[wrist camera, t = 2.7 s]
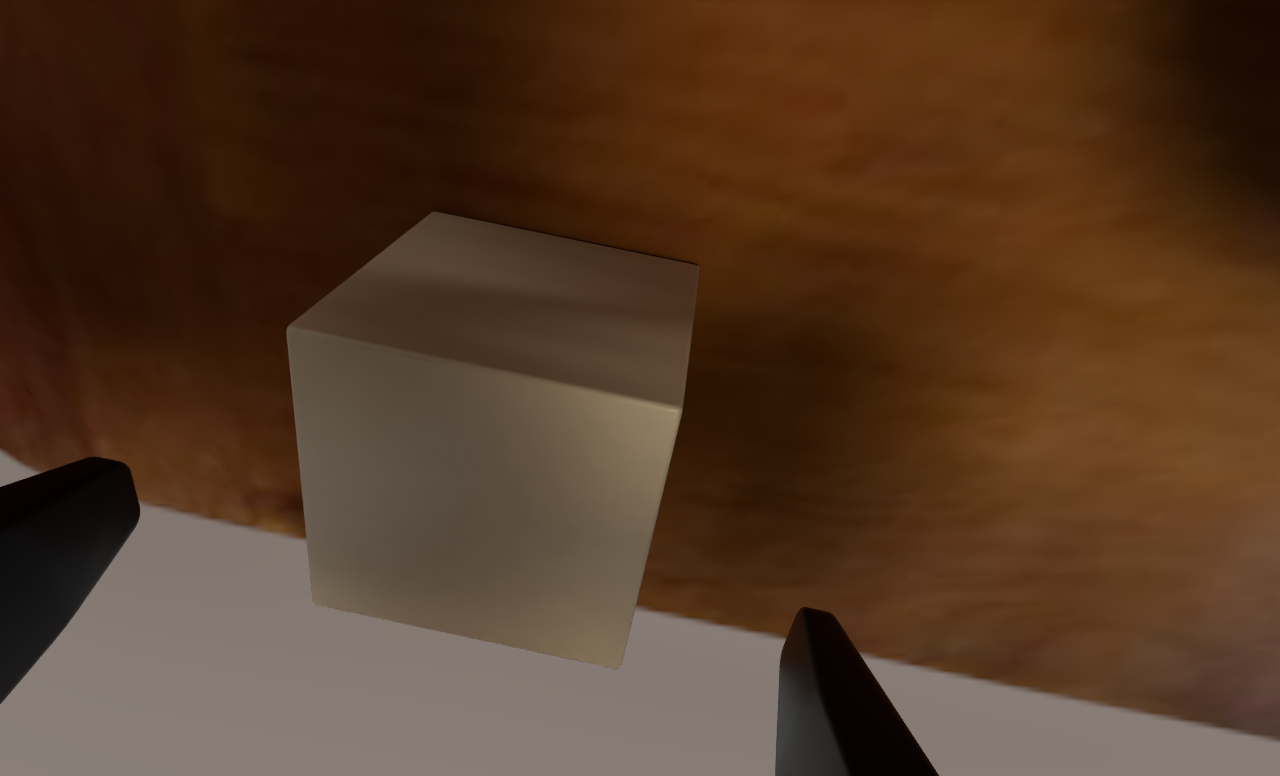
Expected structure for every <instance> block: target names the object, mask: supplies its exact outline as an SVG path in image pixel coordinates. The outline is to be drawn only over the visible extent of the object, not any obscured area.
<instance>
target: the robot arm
mask: <svg viewBox="0 0 1280 776" xmlns="http://www.w3.org/2000/svg"><path fill="white" fill-rule="evenodd" d="M139 517H140V505H139V502H138V498H137V494H136V490H135V486H134V482H133V478H132V474H131V471H130V468H129V467H128V466H127V465H126V464H125V463H123V462H120V461H115V460H110V459H106V458H101V457H88V458H85V459H82V460H79V461H76V462H73V463H70V464H67V465H64V466H61V467H58V468H55V469H52V470H49V471H46V472H43V473H40V474H37V475H35V476H32V477H29V478H26V479H23V480H20V481H17V482H14V483H11V484H8V485H5V486H2V487H0V704H1V703H2V702H3V701H4V700H5V698H6V697H7V696H8V695H9V693H10V692H11V691H12V690H13V689H14V688H15V687H16V685H17V684H18V683H19V682H20V681H21V680H22V678H23V677H24V676H25V675H26V674H27V672H28V671H29V670H30V669H31V668H32V666H33V665H34V664H35V663H36V662H37V661H38V659H39V658H40V657H41V656H42V655H43V653H44V652H45V651H46V650H47V649H48V648H49V647H50V645H51V644H52V643H53V642H54V640H55V639H56V638H57V637H58V636H59V634H60V633H61V632H62V631H63V629H64V628H65V627H66V625H67V624H68V623H69V621H70V620H71V619H72V617H73V616H74V615H75V613H76V612H77V611H78V609H79V608H80V606H81V605H82V603H83V602H84V600H85V599H86V598H87V596H88V595H89V593H90V592H91V591H92V589H93V588H94V586H95V585H96V583H97V582H98V580H99V579H100V578H101V576H102V575H103V573H104V572H105V570H106V569H107V568H108V566H109V565H110V563H111V562H112V560H113V559H114V558H115V556H116V554H117V553H118V552H119V550H120V549H121V548H122V546H123V545H124V543H125V542H126V540H127V539H128V537H129V536H130V535H131V533H132V532H133V530H134V529H135V527H136V525H137V523H138V520H139ZM779 673H780V674H779V695H778V696H779V697H778V718H777V719H778V720H777V741H776V768H775V776H939V775H938V773H937V772H936V770H935V769H934V767H933V766H932V764H931V763H930V761H929V759H928V758H927V756H926V755H925V753H924V752H923V750H922V749H921V747H920V746H919V744H918V743H917V741H916V740H915V738H914V737H913V735H912V734H911V732H910V731H909V729H908V727H907V726H906V724H905V723H904V721H903V720H902V718H901V717H900V715H899V714H898V712H897V710H896V709H895V707H894V706H893V704H892V703H891V701H890V700H889V698H888V697H887V695H886V694H885V692H884V691H883V689H882V688H881V686H880V684H879V683H878V681H877V680H876V679H875V677H874V675H873V674H872V672H871V671H870V669H869V668H868V666H867V665H866V663H865V662H864V660H863V658H862V657H861V655H860V654H859V652H858V651H857V649H856V648H855V646H854V645H853V643H852V642H851V640H850V639H849V637H848V636H847V634H846V632H845V631H844V629H843V628H842V626H841V625H840V623H839V622H838V620H837V619H836V617H835V616H834V615H833V614H831V613H830V612H826V611H822V610H817V609H812V608H808V607H803V608H801V609H800V610H799V611H798V612H797V615H796V617H795V619H794V622H793V624H792V627H791V629H790V631H789V634H788V636H787V639H786V641H785V644H784V646H783V649H782V653H781V659H780V671H779Z"/></svg>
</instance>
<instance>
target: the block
mask: <svg viewBox="0 0 1280 776" xmlns="http://www.w3.org/2000/svg"><path fill="white" fill-rule="evenodd" d="M699 274H700V267H699V266H697V265H694V264H689V263H684V262H679V261H674V260H669V259H664V258H659V257H655V256H650V255H645V254H640V253H635V252H630V251H625V250H620V249H616V248H611V247H606V246H601V245H596V244H591V243H586V242H581V241H577V240H572V239H567V238H562V237H557V236H552V235H547V234H542V233H538V232H533V231H528V230H523V229H518V228H513V227H508V226H503V225H499V224H494V223H489V222H484V221H479V220H474V219H469V218H464V217H460V216H455V215H450V214H445V213H440V212H431V213H430V214H429V215H428V216H426V217H425V218H424V219H423V220H421V221H420V222H419V223H417V224H416V225H415V226H414V227H412V228H411V229H410V230H409V231H407V232H406V233H405V234H404V235H402V236H401V237H400V238H398V239H397V240H396V241H395V242H393V243H392V244H391V245H390V246H388V247H387V248H386V249H385V250H383V251H382V252H381V253H380V254H378V255H377V256H376V257H374V258H373V259H372V260H371V261H369V262H368V263H367V264H366V265H364V266H363V267H362V268H361V269H359V270H358V271H357V272H355V273H354V274H353V275H352V276H350V277H349V278H348V279H347V280H345V281H344V282H343V283H342V284H340V285H339V286H338V287H337V288H335V289H334V290H333V291H331V292H330V293H329V294H328V295H326V296H325V297H324V298H323V299H321V300H320V301H319V302H318V303H316V304H315V305H314V306H312V307H311V308H310V309H309V310H307V311H306V312H305V313H304V314H302V315H301V316H300V317H299V318H297V319H296V320H295V321H293V322H292V323H291V324H290V325H288V327H287V331H286V334H287V344H288V354H289V364H290V374H291V385H292V395H293V405H294V415H295V425H296V436H297V446H298V456H299V466H300V476H301V487H302V497H303V507H304V517H305V527H306V538H307V548H308V558H309V568H310V578H311V588H312V599H313V603H314V604H315V605H318V606H323V607H328V608H333V609H337V610H342V611H346V612H352V613H356V614H360V615H366V616H370V617H375V618H379V619H384V620H389V621H393V622H398V623H403V624H408V625H412V626H417V627H421V628H426V629H431V630H435V631H440V632H445V633H449V634H454V635H459V636H463V637H468V638H473V639H478V640H482V641H487V642H492V643H496V644H501V645H506V646H510V647H515V648H520V649H524V650H529V651H534V652H538V653H543V654H548V655H552V656H557V657H562V658H567V659H571V660H576V661H580V662H586V663H590V664H594V665H599V666H604V667H609V668H613V669H619V668H620V666H621V665H622V661H623V657H624V653H625V648H626V644H627V640H628V636H629V632H630V627H631V624H632V619H633V615H634V611H635V607H636V603H637V599H638V595H639V590H640V586H641V582H642V578H643V574H644V570H645V565H646V561H647V557H648V553H649V549H650V545H651V540H652V536H653V532H654V528H655V524H656V520H657V515H658V511H659V507H660V503H661V499H662V495H663V490H664V486H665V482H666V478H667V474H668V470H669V465H670V461H671V457H672V453H673V449H674V445H675V440H676V436H677V432H678V428H679V424H680V420H681V415H682V411H683V403H684V395H685V387H686V379H687V371H688V363H689V355H690V347H691V338H692V330H693V322H694V314H695V306H696V298H697V290H698V282H699Z"/></svg>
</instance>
